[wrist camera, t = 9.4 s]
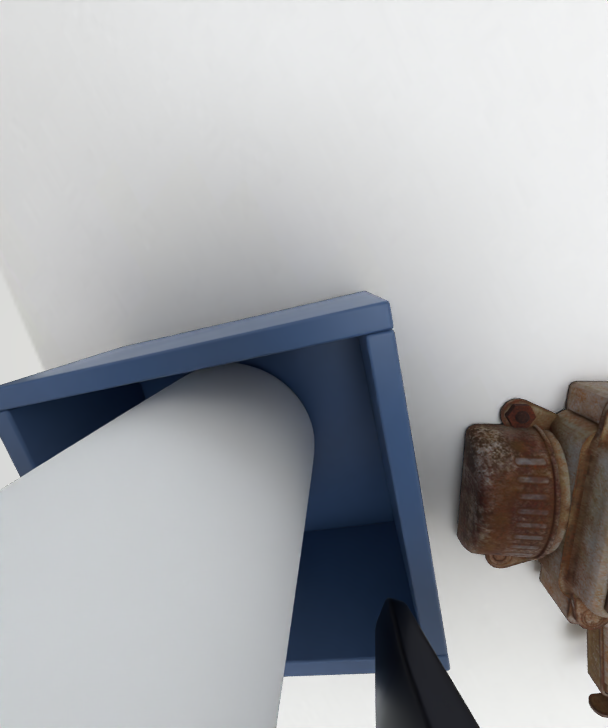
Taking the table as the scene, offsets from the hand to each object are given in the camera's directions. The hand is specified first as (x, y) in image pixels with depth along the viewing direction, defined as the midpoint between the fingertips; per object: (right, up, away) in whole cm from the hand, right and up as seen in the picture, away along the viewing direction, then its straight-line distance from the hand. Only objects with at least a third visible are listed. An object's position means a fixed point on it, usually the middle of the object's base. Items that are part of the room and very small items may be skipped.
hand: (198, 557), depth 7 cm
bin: (+1, +1, +6) cm, 6 cm away
